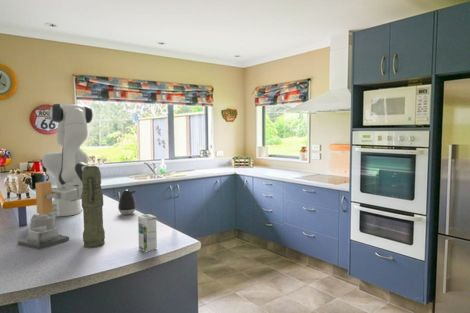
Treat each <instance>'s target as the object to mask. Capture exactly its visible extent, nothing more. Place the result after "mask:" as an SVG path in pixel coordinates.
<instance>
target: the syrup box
mask: <svg viewBox="0 0 470 313" xmlns="http://www.w3.org/2000/svg"><path fill="white" fill-rule="evenodd" d="M137 222H138V224H137V225H138V226H137V228H138V250H139V249H140V251H141V250H142V251H141V252H143V251H144V253H145V252H146V251H149V252H151V251H150V250H152V251H154V250H153V249H156V248H157V247H158V246H157V242H158V239H157V233H158V232H157V216H155V215H153V214H150V213H149V214H141V215H138V216H137ZM157 249H158V248H157ZM157 249H156V250H157ZM146 253H147V252H146Z"/></svg>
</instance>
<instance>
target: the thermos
mask: <svg viewBox="0 0 470 313" xmlns="http://www.w3.org/2000/svg"><path fill="white" fill-rule="evenodd" d="M101 176H102V174H101V170H100V167H99V166H98V165H97V166H96V165H89V166H86V167H84V169H83V172H82V185H83V191H82V194H81V199H80V200H81V209H82V214H83V215H82V216H83V232H82V241H83V247H84V248H87V249H94V248H100V247H102V246H104V245H105V244H106V243H105V238H106V231H105V229H104V215H103V212H104V211H103V207H104V192H103V190H102V177H101Z"/></svg>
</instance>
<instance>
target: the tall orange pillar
mask: <svg viewBox="0 0 470 313" xmlns="http://www.w3.org/2000/svg"><path fill="white" fill-rule="evenodd" d="M34 184H35V201H36V214H37V215H39V214H47V213H52V212H53V208H52V201H53V198H50V199H46V198H45V195H48V194H52V190H51V188H52V181H40V182H35V183H34Z"/></svg>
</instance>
